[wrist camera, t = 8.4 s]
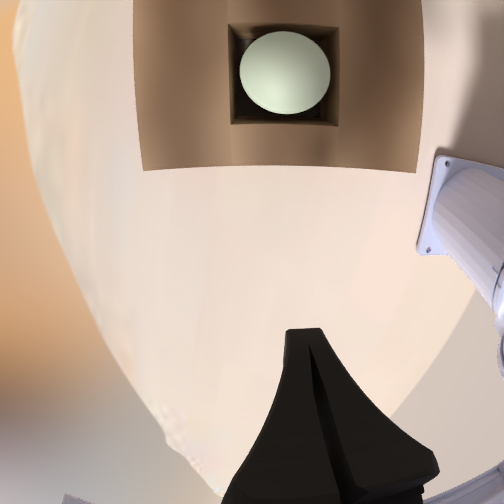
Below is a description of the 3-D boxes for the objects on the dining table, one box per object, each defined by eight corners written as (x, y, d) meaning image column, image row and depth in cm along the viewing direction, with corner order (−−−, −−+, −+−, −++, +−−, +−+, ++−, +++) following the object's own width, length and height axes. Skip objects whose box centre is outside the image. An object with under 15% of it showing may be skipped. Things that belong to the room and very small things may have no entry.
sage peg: (313, 46, 14) (329, 34, 10) (313, 110, 16) (329, 116, 12) (243, 45, 14) (238, 31, 10) (245, 108, 16) (240, 114, 12)
